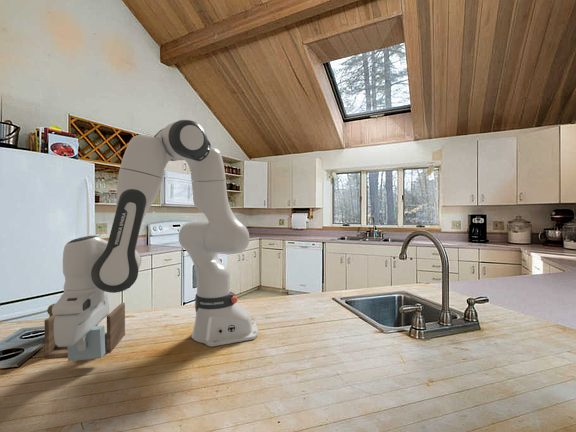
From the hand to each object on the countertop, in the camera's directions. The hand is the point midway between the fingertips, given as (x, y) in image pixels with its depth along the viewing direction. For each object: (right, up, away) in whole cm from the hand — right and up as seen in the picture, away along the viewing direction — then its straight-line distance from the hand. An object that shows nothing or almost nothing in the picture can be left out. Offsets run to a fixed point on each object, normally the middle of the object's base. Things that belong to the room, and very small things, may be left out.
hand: (86, 345), depth 77 cm
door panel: (0, -3, 0) cm, 3 cm away
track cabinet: (-8, -5, +11) cm, 15 cm away
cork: (-22, -5, +18) cm, 29 cm away
